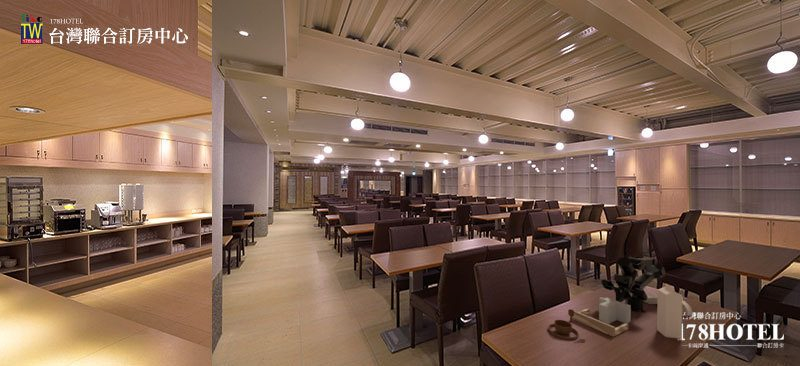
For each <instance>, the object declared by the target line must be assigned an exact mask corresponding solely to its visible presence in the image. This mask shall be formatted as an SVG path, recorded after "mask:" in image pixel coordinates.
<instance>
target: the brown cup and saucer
mask: <svg viewBox="0 0 800 366" xmlns="http://www.w3.org/2000/svg"><path fill="white" fill-rule="evenodd" d="M574 311H575V310H574V309H568V312H567V313H568V316H569V321H566V320H565V319H556V320H554V323H550V324H549V325H548V326H547V328H548V329H547V330H548V331H549V333H550V334H551V335H553V336H554V337H556V338H559V339H563V340H568V341H572V340H576V339H578V338H579V332H578V331H577V330H576V329H575V328H574V327H573V324H572V322H573V319H572V317H573V316H574ZM553 328H554V329H555V331H557V332H558V333H559V334H557V333H555V332H553V331H552V329H553ZM572 333H573V334H575V336H567V335H570V334H572ZM585 342H586V339H585V338H581V339H578V340H577V341H574V342H573V344H577V343H585Z"/></svg>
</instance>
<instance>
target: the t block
mask: <svg viewBox="0 0 800 366" xmlns="http://www.w3.org/2000/svg"><path fill="white" fill-rule="evenodd" d="M598 302H599V303H598V310H599V311H598V317H599V318H598V320H599V321H601V322H604V323H606V324H609V325H610V324H612V323H613V322H616V321H618V322H621V323H622V324H625V323H627V324H629V323H631V322H632V321H631V317H632V316H631V315H632V314H631V311H632V310H631V305H628V304H625V303H624V302H623V301H622V302H619V301H616V299H612V298H609V297H606V296H601V297H599V300H598Z"/></svg>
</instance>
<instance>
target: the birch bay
mask: <svg viewBox="0 0 800 366" xmlns="http://www.w3.org/2000/svg"><path fill="white" fill-rule="evenodd" d="M589 315H590V308H584V309H582V310H580V311H576V310H574V316H573V317H572V320H574V321H576V322H578V323H580V324H583V325H585V326H587V327H590V328H591V329H595V330H597V331H599V332H601V333H604V334H606V335H608V334H609V336H611V337H616V336H618V335H620V334H622V333H624V332H626V331H628V330H629V323H622V324H621V325H619V326H617V327H615V326H613V325H611V324H610V323H609V324H607V323H605V322H602V321H600V320H599V319H596V318H593V317H592V316H589Z"/></svg>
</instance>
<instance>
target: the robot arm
mask: <svg viewBox="0 0 800 366" xmlns="http://www.w3.org/2000/svg"><path fill="white" fill-rule="evenodd" d="M616 264H617V266H618V267H619V269H620V271H621V272H622V273H621V274H620V275H619V274H616V273H614V275H613V281H615V283H613V282H612V280H609V279H605V278H603V279H601V281H600V284H601V285H602V288H603V289H605V290H607V291H608V290H609V291H613V292H614V293H615V300H616V301H619V302H622V303H623V301H625V304H628V305H631V311H636V312H643V313H644V312H646V311H645V310H644V301H646V300H647V295H646V293H647V292H646V291H645V290H644V289H645V288H646V287H647V286H648V285H649V284H650V283H652V282H653V281H654V280H660V279H662V278H663V277H665V276H666V270H665V268H664V267H665V266H664V265H662V264H661V263H660V262H658V259H657V258H655V257H650V256H644V257H640V258H637V257H632V256H628V255H623V257H620V258H618V259H617V260H616ZM643 270H644V272H643V273H642V274H641V275H640V276H639V272H638V271H643ZM645 292H646V293H645ZM643 300H644V301H643Z"/></svg>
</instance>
